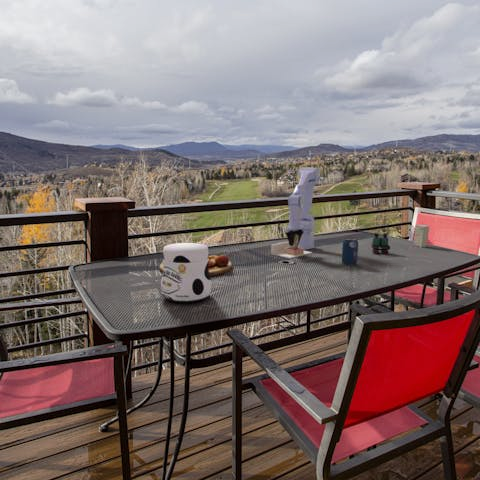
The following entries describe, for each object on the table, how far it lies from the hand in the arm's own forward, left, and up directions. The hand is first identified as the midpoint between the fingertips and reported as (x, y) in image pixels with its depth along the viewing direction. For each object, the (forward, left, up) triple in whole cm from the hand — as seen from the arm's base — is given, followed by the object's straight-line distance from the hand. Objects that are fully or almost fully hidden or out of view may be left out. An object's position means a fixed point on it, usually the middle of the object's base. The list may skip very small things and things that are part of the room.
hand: (294, 244), depth 208 cm
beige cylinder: (0, 0, -2) cm, 2 cm away
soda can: (-4, +30, -5) cm, 31 cm away
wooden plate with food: (+54, -12, -6) cm, 56 cm away
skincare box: (-71, +35, -5) cm, 79 cm away
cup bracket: (0, -1, -5) cm, 5 cm away
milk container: (+81, +18, -5) cm, 83 cm away
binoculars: (-36, +29, -5) cm, 47 cm away
